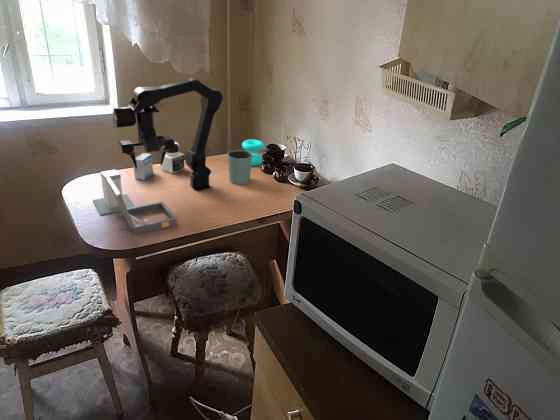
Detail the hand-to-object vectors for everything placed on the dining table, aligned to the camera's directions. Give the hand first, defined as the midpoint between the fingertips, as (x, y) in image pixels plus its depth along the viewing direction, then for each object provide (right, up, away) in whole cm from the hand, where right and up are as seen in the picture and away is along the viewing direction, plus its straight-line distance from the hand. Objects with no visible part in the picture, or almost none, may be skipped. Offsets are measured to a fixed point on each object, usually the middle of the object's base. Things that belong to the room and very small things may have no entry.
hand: (148, 166), depth 158 cm
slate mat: (-12, -14, -3) cm, 19 cm away
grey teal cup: (+31, -4, +23) cm, 39 cm away
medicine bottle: (+2, +1, +29) cm, 29 cm away
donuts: (+35, +6, +42) cm, 55 cm away
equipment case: (+2, -20, -12) cm, 23 cm away
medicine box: (-8, -2, +21) cm, 23 cm away
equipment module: (-12, -14, -3) cm, 18 cm away
